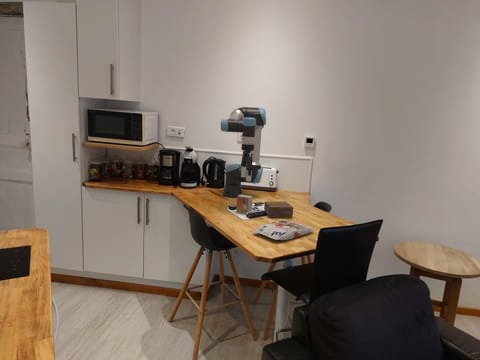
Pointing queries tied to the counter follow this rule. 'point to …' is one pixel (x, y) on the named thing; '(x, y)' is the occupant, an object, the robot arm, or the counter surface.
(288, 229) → the dog food
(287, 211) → the walnut block
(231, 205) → the counter surface
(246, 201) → the small box
